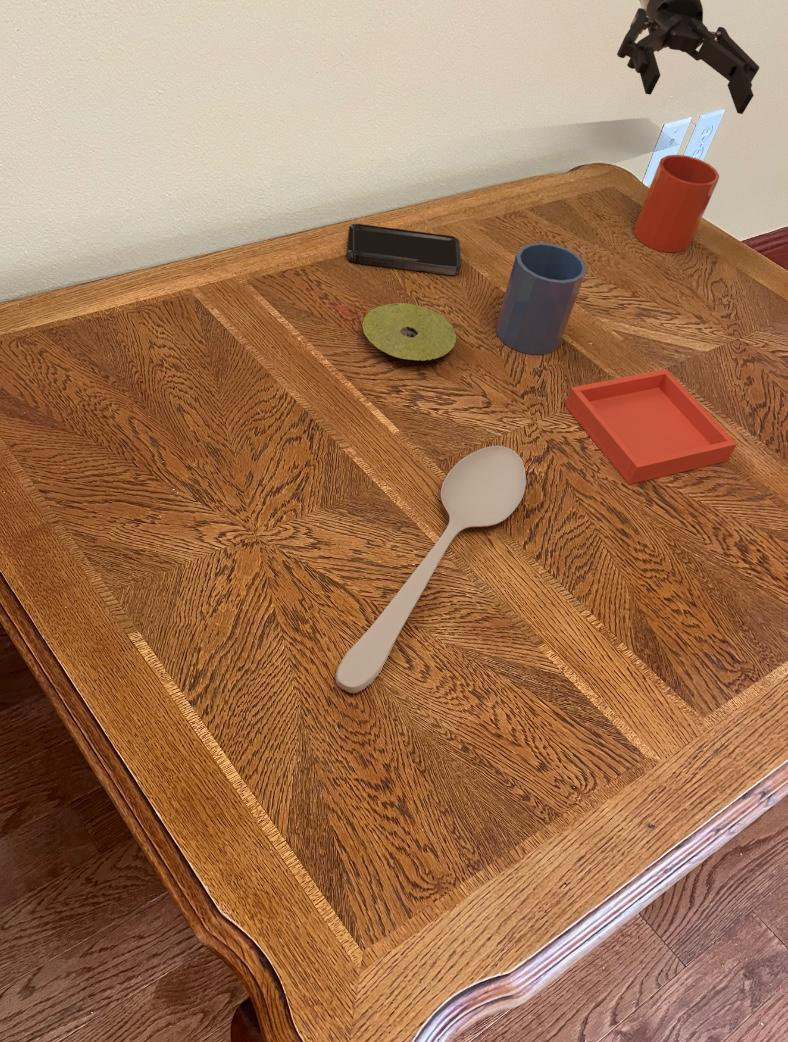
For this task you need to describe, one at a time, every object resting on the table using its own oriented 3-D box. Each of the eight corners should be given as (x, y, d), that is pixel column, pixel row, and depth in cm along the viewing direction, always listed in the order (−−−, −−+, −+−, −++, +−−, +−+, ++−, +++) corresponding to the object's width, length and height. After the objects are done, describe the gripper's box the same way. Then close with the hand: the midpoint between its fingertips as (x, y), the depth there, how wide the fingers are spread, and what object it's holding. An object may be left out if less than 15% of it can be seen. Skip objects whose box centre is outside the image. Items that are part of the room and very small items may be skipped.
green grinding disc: (358, 312, 116) (360, 298, 114) (447, 319, 117) (450, 305, 115) (363, 369, 109) (365, 355, 107) (458, 376, 110) (461, 362, 108)
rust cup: (700, 249, 135) (731, 181, 127) (654, 255, 132) (682, 187, 125) (667, 219, 140) (695, 152, 132) (622, 225, 137) (648, 157, 129)
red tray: (727, 461, 106) (737, 444, 104) (628, 485, 101) (637, 467, 99) (658, 386, 113) (666, 368, 111) (564, 405, 109) (570, 387, 107)
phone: (349, 222, 126) (459, 236, 127) (348, 230, 127) (457, 244, 128) (347, 254, 121) (461, 269, 122) (346, 262, 122) (459, 276, 123)
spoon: (471, 450, 102) (476, 432, 100) (538, 479, 100) (544, 461, 98) (302, 679, 82) (304, 663, 80) (381, 722, 80) (385, 706, 78)
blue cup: (572, 349, 116) (599, 277, 108) (516, 359, 113) (539, 286, 106) (539, 310, 120) (562, 239, 113) (484, 319, 118) (504, 246, 110)
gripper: (734, 50, 142) (766, 137, 131) (580, 16, 138) (600, 103, 127) (763, -1, 136) (800, 86, 125) (602, -39, 131) (626, 48, 121)
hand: (699, 94), depth 126 cm, fingers open, 13 cm apart
